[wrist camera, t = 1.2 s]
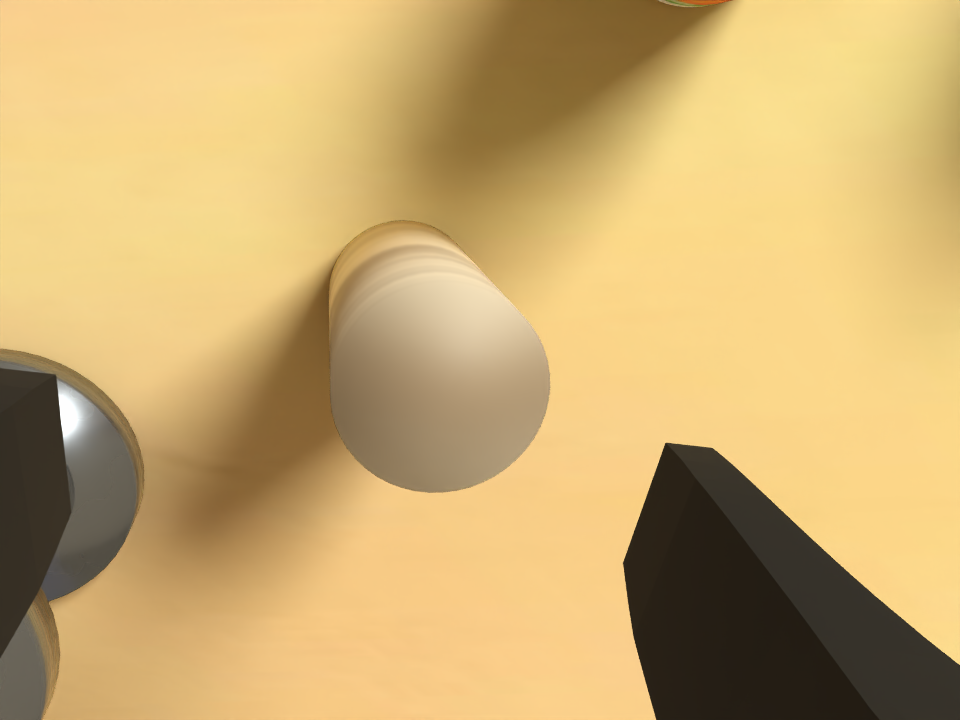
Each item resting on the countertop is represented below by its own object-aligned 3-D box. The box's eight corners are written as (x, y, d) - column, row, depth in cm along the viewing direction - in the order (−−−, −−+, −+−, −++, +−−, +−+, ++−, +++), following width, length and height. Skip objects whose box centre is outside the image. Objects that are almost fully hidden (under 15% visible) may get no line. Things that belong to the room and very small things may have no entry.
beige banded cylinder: (464, 369, 23) (531, 497, 16) (322, 357, 22) (320, 486, 15) (484, 229, 22) (567, 296, 14) (336, 211, 21) (341, 270, 14)
